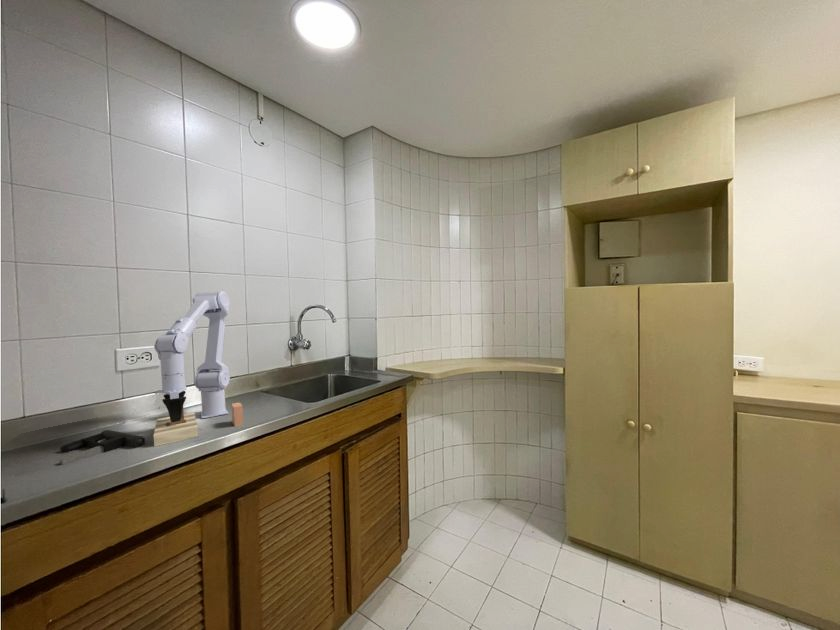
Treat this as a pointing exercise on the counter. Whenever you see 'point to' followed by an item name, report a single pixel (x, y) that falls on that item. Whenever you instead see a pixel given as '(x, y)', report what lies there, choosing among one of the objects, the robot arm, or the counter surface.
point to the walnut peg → (178, 421)
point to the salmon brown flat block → (237, 414)
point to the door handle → (100, 444)
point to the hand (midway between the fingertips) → (176, 418)
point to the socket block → (175, 430)
